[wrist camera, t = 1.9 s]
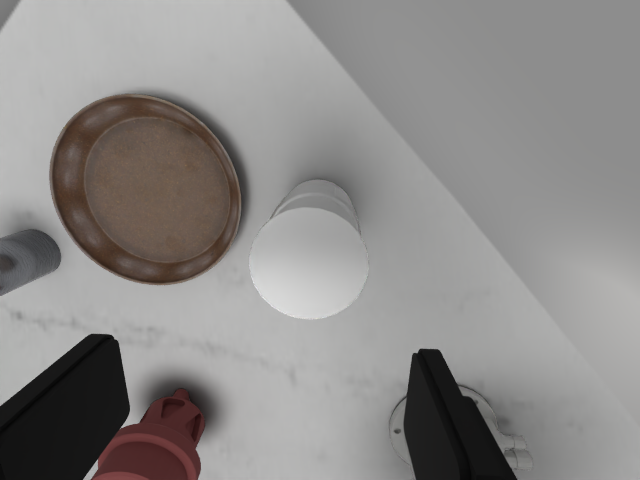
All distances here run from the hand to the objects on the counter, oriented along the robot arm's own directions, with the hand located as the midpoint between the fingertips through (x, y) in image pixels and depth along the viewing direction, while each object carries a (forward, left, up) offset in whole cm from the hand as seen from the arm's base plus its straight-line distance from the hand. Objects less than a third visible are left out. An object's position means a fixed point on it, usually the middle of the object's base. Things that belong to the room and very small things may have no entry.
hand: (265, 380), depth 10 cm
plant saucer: (+15, -2, -24) cm, 28 cm away
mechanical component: (+15, +25, -24) cm, 38 cm away
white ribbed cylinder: (-1, -1, -24) cm, 24 cm away
